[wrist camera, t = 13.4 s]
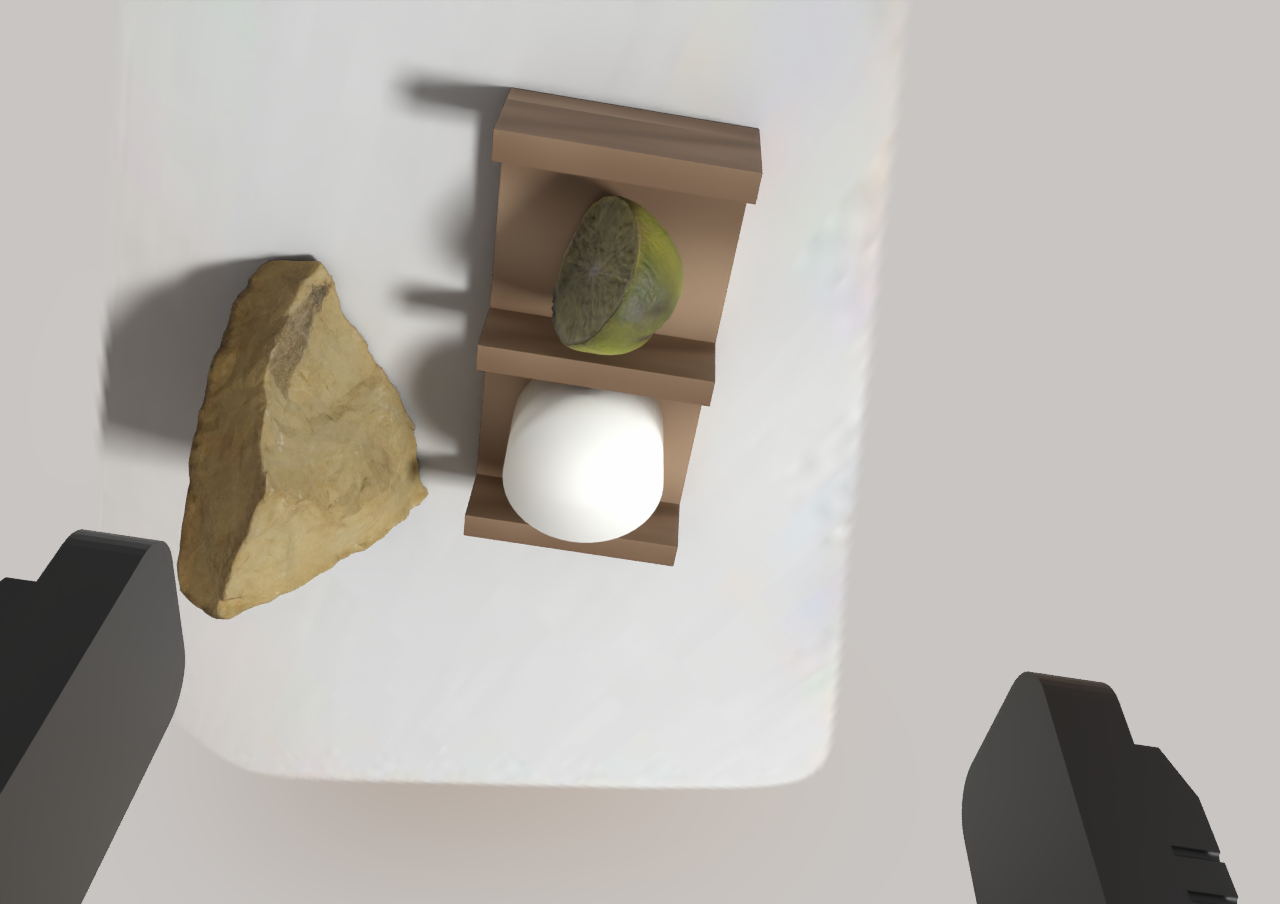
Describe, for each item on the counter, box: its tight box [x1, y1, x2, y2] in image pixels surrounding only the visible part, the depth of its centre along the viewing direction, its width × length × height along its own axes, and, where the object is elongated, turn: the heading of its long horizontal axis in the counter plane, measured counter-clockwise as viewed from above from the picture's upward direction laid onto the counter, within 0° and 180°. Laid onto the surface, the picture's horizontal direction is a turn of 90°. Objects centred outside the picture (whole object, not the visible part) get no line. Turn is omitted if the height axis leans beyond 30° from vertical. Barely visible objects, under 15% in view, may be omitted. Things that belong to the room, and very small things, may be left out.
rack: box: [464, 88, 762, 566], centre depth 40 cm, size 16×8×4 cm, turn 171°
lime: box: [551, 195, 684, 355], centre depth 36 cm, size 4×5×5 cm
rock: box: [177, 260, 428, 619], centre depth 41 cm, size 11×9×10 cm
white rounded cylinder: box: [503, 379, 663, 543], centre depth 41 cm, size 6×6×4 cm
